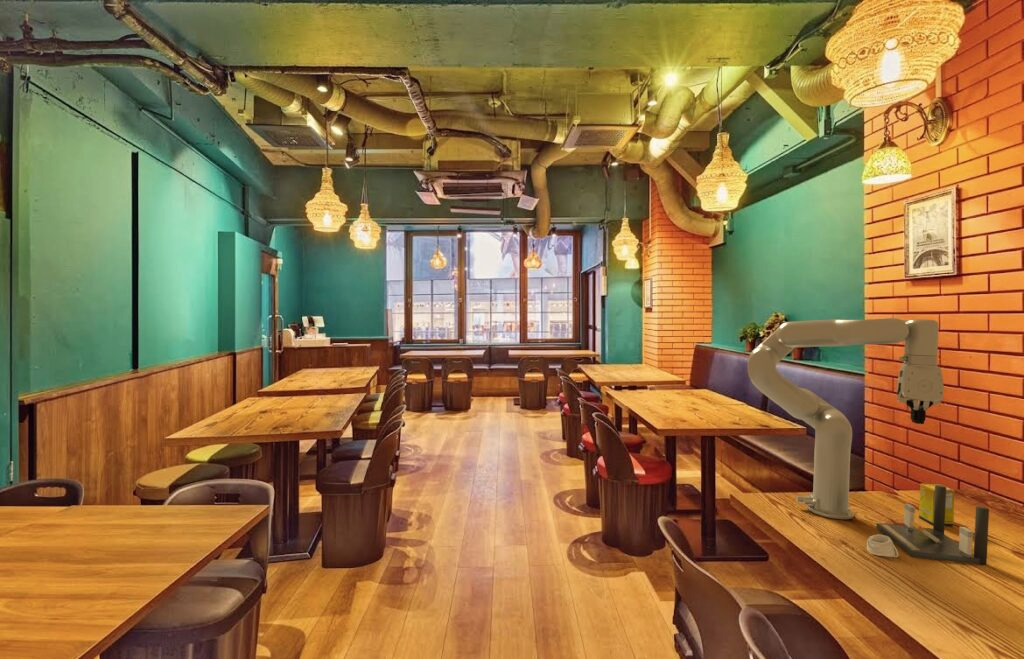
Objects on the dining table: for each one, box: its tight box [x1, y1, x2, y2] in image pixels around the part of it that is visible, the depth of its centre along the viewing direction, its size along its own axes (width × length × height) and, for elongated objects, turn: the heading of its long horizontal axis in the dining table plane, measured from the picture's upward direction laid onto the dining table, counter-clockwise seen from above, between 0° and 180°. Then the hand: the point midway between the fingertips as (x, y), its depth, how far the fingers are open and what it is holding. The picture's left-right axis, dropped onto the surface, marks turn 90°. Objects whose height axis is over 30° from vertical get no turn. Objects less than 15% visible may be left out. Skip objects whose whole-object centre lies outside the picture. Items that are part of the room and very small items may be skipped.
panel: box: [875, 522, 980, 565], centre depth 134 cm, size 15×18×2 cm
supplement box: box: [918, 483, 955, 527], centre depth 150 cm, size 6×6×11 cm
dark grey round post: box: [932, 484, 990, 566], centre depth 132 cm, size 2×19×14 cm, turn 168°
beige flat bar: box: [903, 503, 916, 528], centre depth 141 cm, size 1×3×6 cm, turn 168°
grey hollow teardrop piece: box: [866, 533, 899, 558], centre depth 129 cm, size 8×7×5 cm
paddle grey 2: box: [958, 526, 974, 555], centre depth 126 cm, size 1×3×6 cm, turn 168°
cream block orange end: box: [911, 520, 939, 543], centre depth 134 cm, size 1×3×6 cm
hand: (917, 422), depth 145 cm, fingers closed
